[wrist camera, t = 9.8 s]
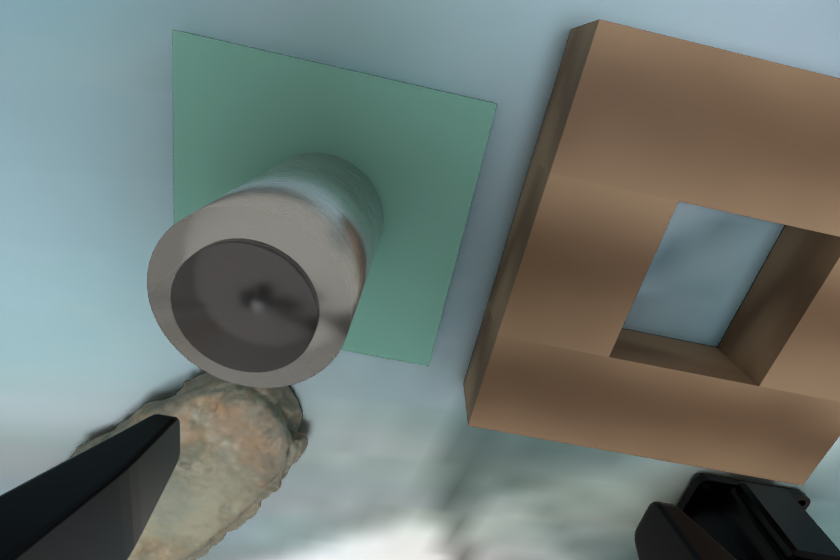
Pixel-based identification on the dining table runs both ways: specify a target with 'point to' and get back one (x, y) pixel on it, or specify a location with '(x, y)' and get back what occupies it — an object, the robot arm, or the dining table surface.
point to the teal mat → (348, 139)
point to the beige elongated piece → (217, 462)
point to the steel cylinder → (269, 272)
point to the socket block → (636, 246)
